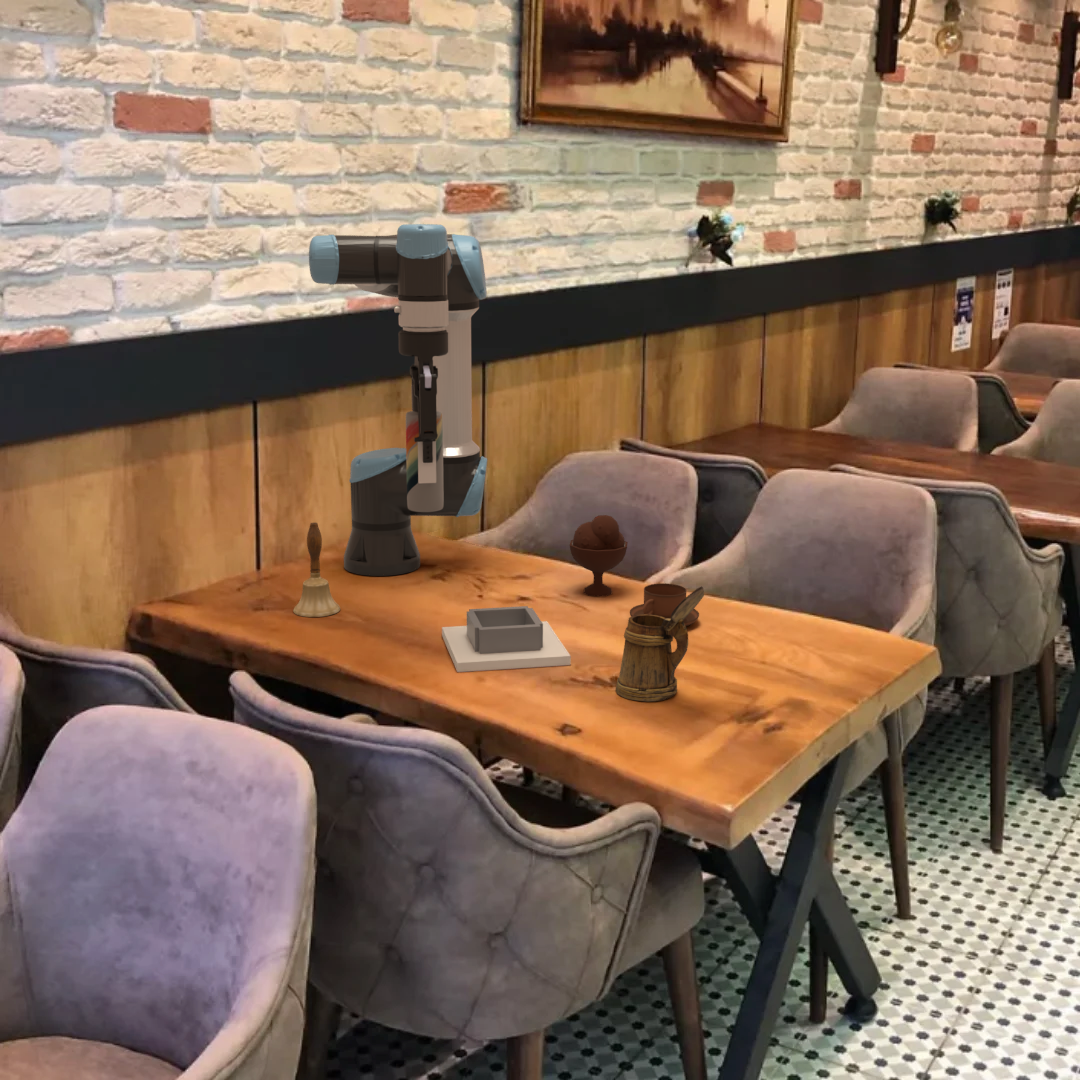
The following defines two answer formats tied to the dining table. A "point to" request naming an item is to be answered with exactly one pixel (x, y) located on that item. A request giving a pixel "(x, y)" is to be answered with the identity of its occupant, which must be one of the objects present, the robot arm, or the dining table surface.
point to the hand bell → (315, 583)
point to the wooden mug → (654, 653)
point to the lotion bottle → (418, 494)
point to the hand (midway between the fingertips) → (425, 478)
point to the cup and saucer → (663, 602)
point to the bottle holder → (504, 641)
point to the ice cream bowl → (598, 550)
